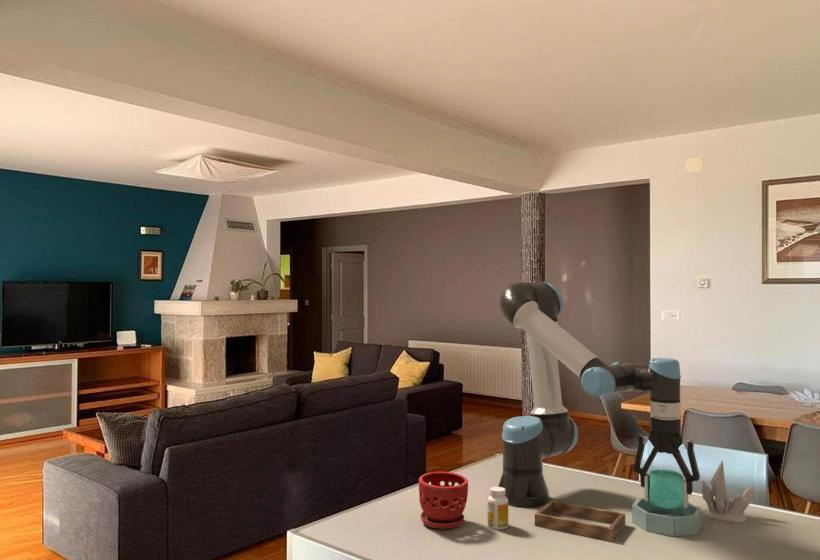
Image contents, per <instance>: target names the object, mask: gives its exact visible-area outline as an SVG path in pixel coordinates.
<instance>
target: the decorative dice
mask: <svg viewBox="0 0 820 560" xmlns="http://www.w3.org/2000/svg"><path fill="white" fill-rule="evenodd" d="M649 474H650V503H651V504H652V505H654V506H656V507H660V508H664V509H678V508H681V507H682V506H683V502H684V493H683V482H684V479H683V478H684V475H683V474H681V473H680V472H677V471H674V470H671V469H654V470H651V471H650V472H649Z"/></svg>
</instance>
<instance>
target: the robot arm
mask: <svg viewBox="0 0 820 560" xmlns="http://www.w3.org/2000/svg"><path fill="white" fill-rule="evenodd" d="M498 302H499V303H498V305H499V310H500V312H501V315H503V316H504V318H505V319H506V320H507V321H508V322H509V323H510V324H511V325H512V326H514V327H515V328H516V329H518V330H519V329H522V330H523V331H524V332H526V339H527V347H528V349H527V350H528V358H529V366H530V369H529V370H530V377H531V386H532V393H533V394H532V396H533V404H534V406H533V409H532V410H531V411H530V412H529V413H530V415H523V416H514V417H511V418H509V419H507V420H506V421H504V423H503V425H502V433H501V437H502V473H501V477H500V479H499V482H498V486H497V487H503V488H505V492H506V493H505V497H507V499H508V506H517V507H529V508H530V507H538V506H543V505H547V504H548V503H549V502H550V501H549V500H550V493H549V489H548V486H547V482H546V480H545V477H544V471H543V468H544V467H543V464H544V463H543V459H547V458H552V457H556V456H562V455H564V454H566V453H568V452H570V451H571V450H572V449H574V448H575V446H576V445H577V442H578V438H579V429H578V426H577V424H576V422H575V421H574V419H573V418H572V417H570V416H569V409H568V408H566V407H565V406H564V404H563V399H562V391H561V380H560V373H559V363H558V361H560V363H562V364H563V365H564V366H565V367H567V369H569V370H570V371H571V372H572V373H573V374H574V375H576V376H577V377H578V378H579V379H580V380H581V381H580V382H581V386H582V388H583V391H584V392H585V393H587V394H588V395H589V396H591V397H606V396H609V395H614V394H622V393H625V392H626V393H627V392H639V393H640V392H642V393H647V394H649V406H650V407H649V414H650V415H651V417H650V419H649V425H650V430H649V431H650V432H649V435H643V434H640V435H639V436H638V437H637V443H638V447H637V451H636V456H635V460H634V464H633V469H632V470H633V472H634V473H637V474H639V477H640V487H641V488H644V498H645V501H648V500H649V499H650V473H648V470H649V469H650V467H651V465H652V463H653V462H654V460H655V458H656V456H657V454H658V453H661V454H663V453H666V454H669V455H671V456H672V457H674V459H675V461H676V463H677V465H678V467H679V469H680V471H681V473H682V476H683V478H684V479H683V493H684V502H683V507H684V508H687V506H688V502H689V495H692V494H693V482H699V480H700V479H701V474H700V471H699V467H698V463H697V457H696V454H695V450H694V447H695V441H694V440H686V439H684V438H683V437H682V420H681V419H680V417H681V416H682V411H681V410H682V409H681V407H682V406H681V377H682V375H681V367H680V361H679V360H677V359H675V358H670V357H669V358H668V357H654V358H650V359H649V364H641V363H635V362H633V363H632V362H627V361H615V362H612V363H611V364H610V365H609V364H607V363H605V362H604V361H603V360H602V359H601V358H599V356H597V355H596V354H595V353H593V352H592V351H591V350H590V349H588V348H587V346H585V345H584V344H582V343H581V342H580V341H579V340H578V339H576V338H575V337H574V336H572V335H571V334H570V333H569V332H568V331H566V330H565V329H564V328H563V327H562V326H561V325H559V320H558V317H559V316H560V314H561V311H562V310H563V307H564V299H563V296H562V293H561V292H560V290H559V289H558V288H557V287H556V286H555V285H554V284H551V283H549V282H544V281H535V282H533V281H532V282H531V281H528V282H525V281H516V282H515V281H514V282H512V283H510V284H508V285H507V286H505V288H504V289H503V290H502V291H501V293H500V295H499V299H498ZM648 441H649V442H650V444H651V445H652V447H653V448H652V449H651V452H650V454H649V455H648V457H647V459H646V462H645V463H644V465H643V467H641V465H642V461H643V456H644V453H645V447H646V444H647V443H648ZM681 445H683V447H684V449H685V450H686V452H687V459H688V461H689V464H690V465H689V466H690V469H689V468H688V466H687V463H686V461H685V460H684V458H683V456H682V454H681V451H680V449H679V448H680V447H681ZM690 470H691V471H690Z"/></svg>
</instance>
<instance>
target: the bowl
mask: <svg viewBox="0 0 820 560" xmlns="http://www.w3.org/2000/svg"><path fill="white" fill-rule="evenodd" d="M631 507H632V508H631V517H632V518H631V520H632V521H631V522H632V523H633V524H635V525H636V526H637V527H639V528H641V529H643V530H644V531H646V532H648V533H655V534H659V535H665V536H668V537H669V536H670V537H685V536H695V535H698V534H699V532H700V530H701V529H702V508H701V507H699V506H697V505H694V504H693V503H690V502H689V501H688V506H687V508H684V507H683V506H682V507H681V508H678V509H664V508H660V507H656V506H654V505H652V504H651V503H650V499H649V500H648V501H645V497H637V498H636V500H635V501H634V502H633V503H632V505H631Z"/></svg>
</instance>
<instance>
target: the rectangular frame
mask: <svg viewBox="0 0 820 560" xmlns="http://www.w3.org/2000/svg"><path fill="white" fill-rule="evenodd" d="M553 514H561V515H565V516H569V517H574V518H578V519H585V520H590V521H595V522H602V523H606V524H610V525H609V526H604V525H599V524H594V523H590V522H589V523H588V522H585V521H584V522H583V521H579V520H574V519H568V518H564V517H559V516H555V515H554V516H553ZM534 526H536V527H540V528H545V529H550V530H554V531H560V532H563V533H568V534H573V535H579V536H582V537H589V538H592V539H599V540H603V541H606V542H607V541H608V542H613V541H614V540H615V538H617V536H618V535H619V534H620V533H621V531H622V530H623V528H624V527H625V526H626V513H624V512H619V511H614V510H608V509H602V508H598V507H591V506H586V505H582V504H581V505H580V504H575V503H569V502H565V501H564V502H563V501H560V500H559V501H557V500H553V499H552V500H550V501H548V502H547V503H546V504H544V506H543V507H541V508H540V509H539V510H538V511H536V512H535V513H534Z"/></svg>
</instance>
